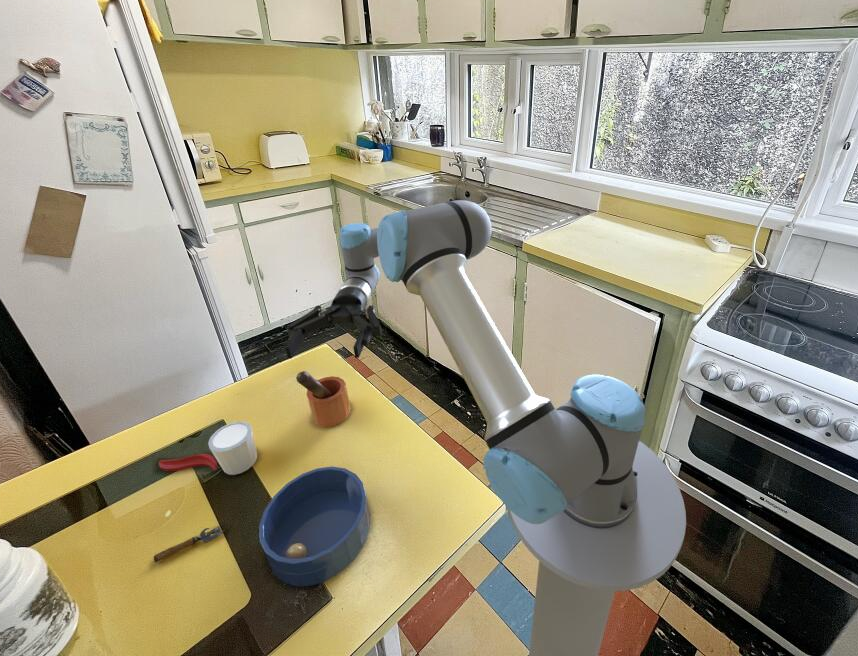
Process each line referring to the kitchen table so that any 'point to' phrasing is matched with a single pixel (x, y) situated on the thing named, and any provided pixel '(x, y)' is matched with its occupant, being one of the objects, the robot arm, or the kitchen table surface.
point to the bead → (296, 551)
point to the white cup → (234, 447)
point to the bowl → (316, 525)
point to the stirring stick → (313, 385)
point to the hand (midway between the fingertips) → (322, 352)
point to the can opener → (189, 543)
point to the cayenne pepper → (188, 462)
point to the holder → (330, 403)
